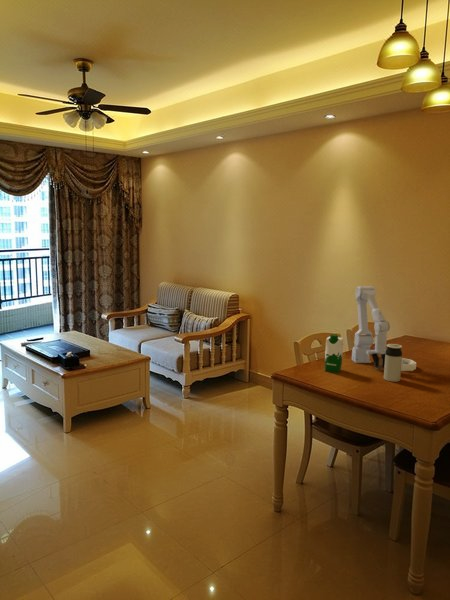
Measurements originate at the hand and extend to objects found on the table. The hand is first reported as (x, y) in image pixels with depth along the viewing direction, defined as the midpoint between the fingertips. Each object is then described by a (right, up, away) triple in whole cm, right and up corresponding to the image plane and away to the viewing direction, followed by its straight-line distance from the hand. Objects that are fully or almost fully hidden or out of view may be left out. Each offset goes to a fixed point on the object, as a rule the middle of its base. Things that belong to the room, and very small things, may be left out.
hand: (379, 367), depth 256 cm
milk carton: (-26, -2, -2) cm, 26 cm away
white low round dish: (+15, -1, +6) cm, 16 cm away
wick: (0, -2, 0) cm, 2 cm away
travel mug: (+1, -4, -17) cm, 17 cm away
